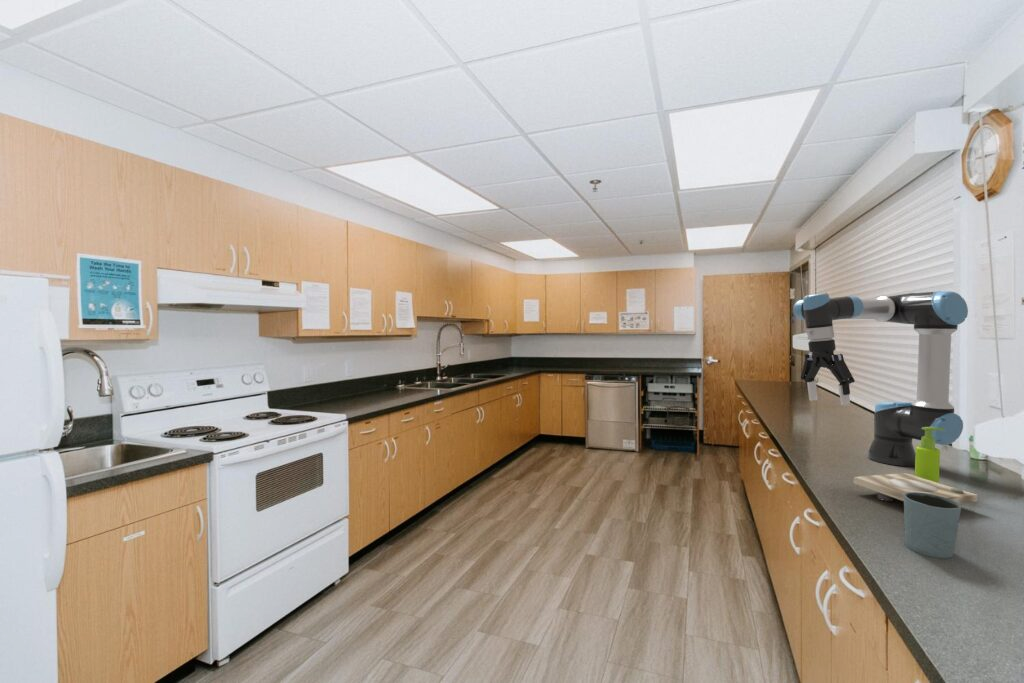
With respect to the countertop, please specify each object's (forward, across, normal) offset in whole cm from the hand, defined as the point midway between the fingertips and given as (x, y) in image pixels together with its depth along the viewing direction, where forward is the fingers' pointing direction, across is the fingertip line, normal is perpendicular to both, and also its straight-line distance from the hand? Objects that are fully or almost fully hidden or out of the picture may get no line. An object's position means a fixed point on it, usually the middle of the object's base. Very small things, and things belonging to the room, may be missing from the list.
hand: (829, 402), depth 159 cm
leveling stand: (+29, +19, +7) cm, 35 cm away
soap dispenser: (+30, +10, +23) cm, 39 cm away
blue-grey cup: (+27, +46, -18) cm, 57 cm away
